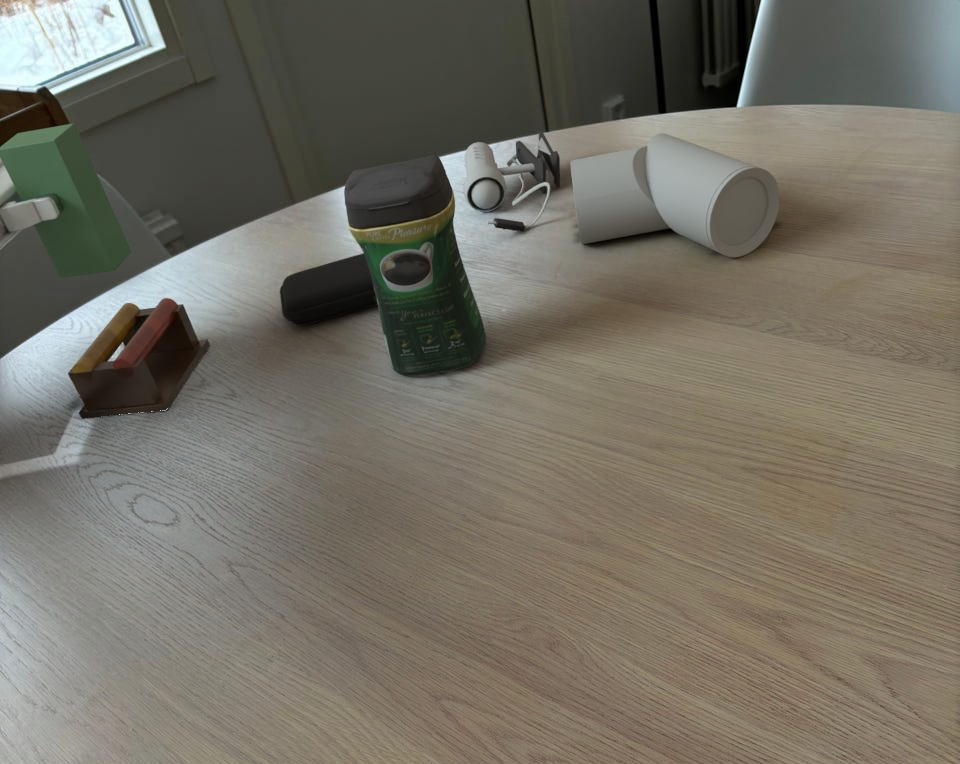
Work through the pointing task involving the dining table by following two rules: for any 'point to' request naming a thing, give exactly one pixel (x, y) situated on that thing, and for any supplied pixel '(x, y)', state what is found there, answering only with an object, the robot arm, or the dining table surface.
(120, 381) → the rod stand
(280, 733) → the dining table surface
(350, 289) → the carrying case
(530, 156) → the clip-on lamp
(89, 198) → the green bar
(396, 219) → the coffee jar
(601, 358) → the dining table surface
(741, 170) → the l-shaped cylinder
